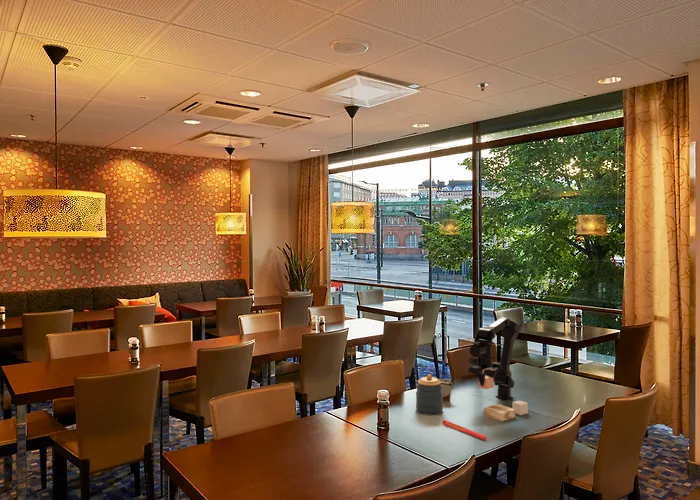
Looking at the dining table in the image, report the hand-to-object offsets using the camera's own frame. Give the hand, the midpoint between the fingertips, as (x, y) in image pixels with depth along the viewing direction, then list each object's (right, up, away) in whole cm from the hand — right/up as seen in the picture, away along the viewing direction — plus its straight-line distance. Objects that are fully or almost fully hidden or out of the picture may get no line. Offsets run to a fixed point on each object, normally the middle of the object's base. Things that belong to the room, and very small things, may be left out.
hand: (485, 385), depth 258 cm
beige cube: (+14, -11, -10) cm, 20 cm away
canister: (-29, -11, -6) cm, 32 cm away
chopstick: (-18, -12, -33) cm, 40 cm away
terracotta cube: (0, -1, 0) cm, 1 cm away
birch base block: (+2, -11, -15) cm, 19 cm away
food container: (-21, -11, +11) cm, 26 cm away
